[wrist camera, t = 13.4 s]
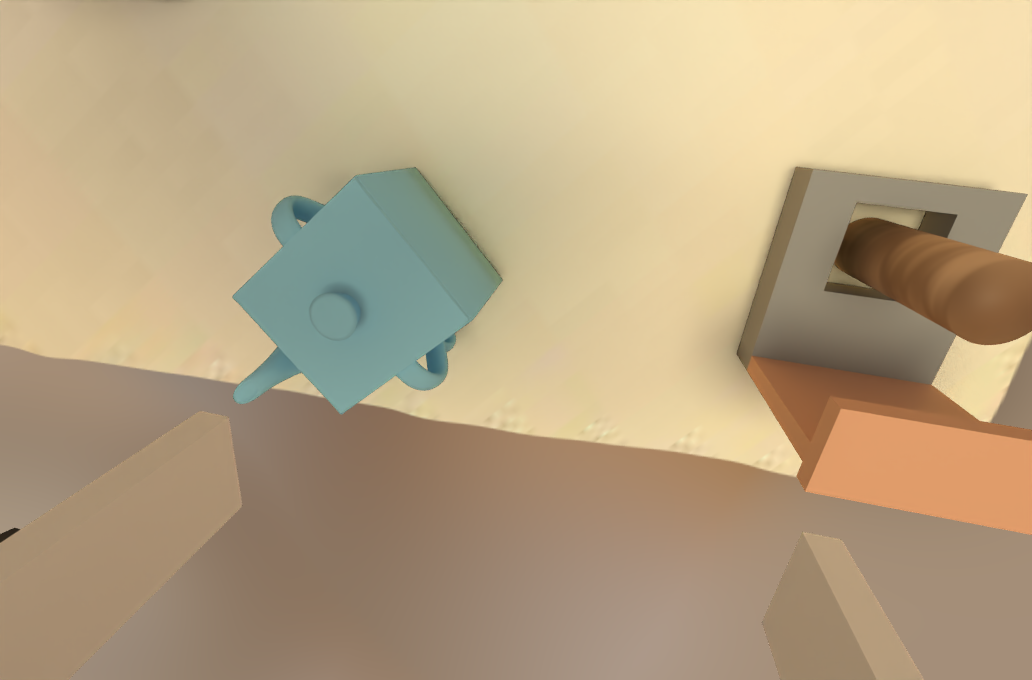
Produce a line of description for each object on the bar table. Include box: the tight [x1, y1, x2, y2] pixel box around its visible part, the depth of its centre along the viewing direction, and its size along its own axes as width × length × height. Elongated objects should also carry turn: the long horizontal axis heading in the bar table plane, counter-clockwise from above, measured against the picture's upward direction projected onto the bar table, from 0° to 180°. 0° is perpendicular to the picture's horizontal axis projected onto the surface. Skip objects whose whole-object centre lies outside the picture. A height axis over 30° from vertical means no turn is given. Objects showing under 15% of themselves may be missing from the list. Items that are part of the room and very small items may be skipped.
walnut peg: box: [834, 218, 1032, 345], centre depth 28 cm, size 4×4×13 cm
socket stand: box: [737, 167, 1032, 535], centre depth 28 cm, size 15×13×16 cm
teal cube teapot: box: [233, 167, 503, 414], centre depth 35 cm, size 18×16×13 cm
